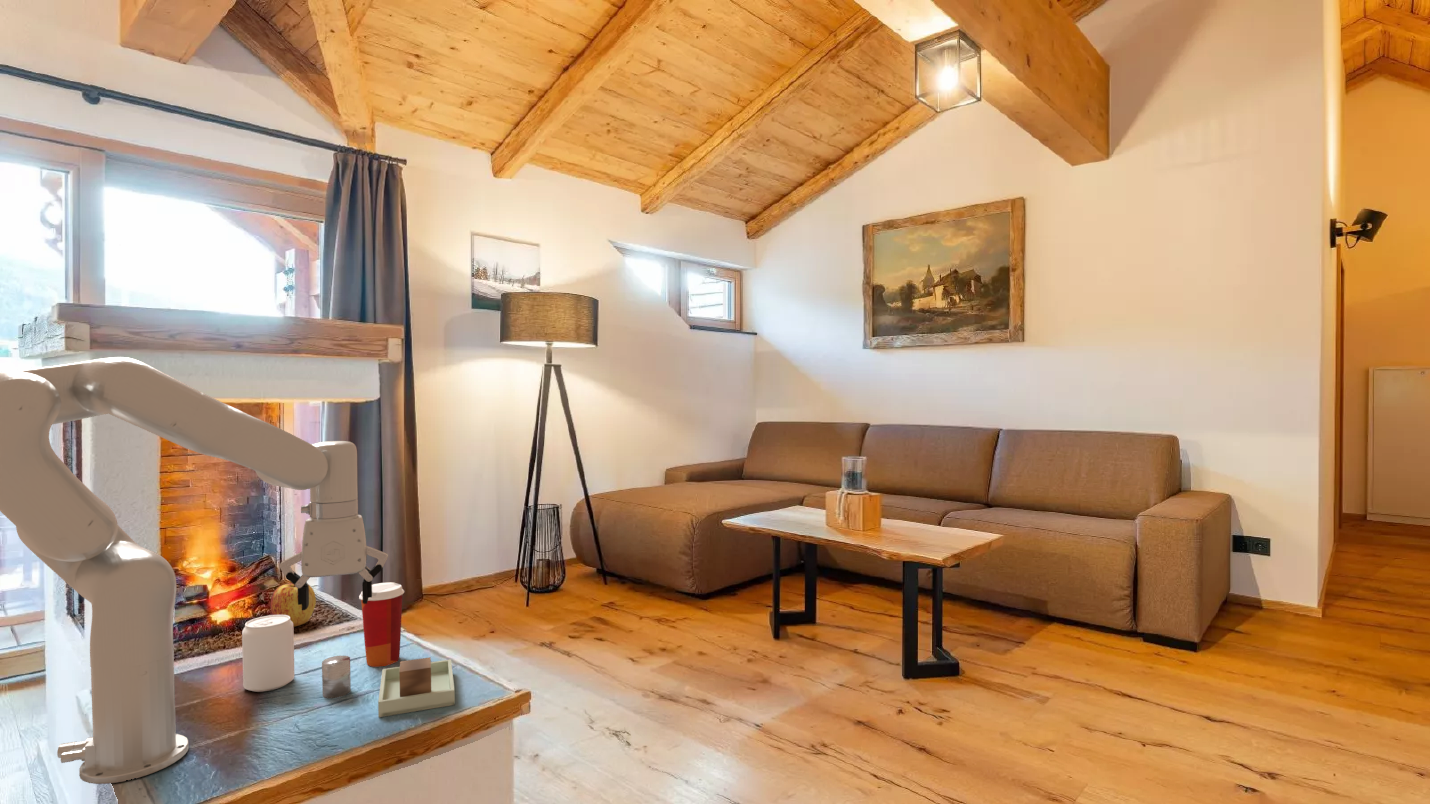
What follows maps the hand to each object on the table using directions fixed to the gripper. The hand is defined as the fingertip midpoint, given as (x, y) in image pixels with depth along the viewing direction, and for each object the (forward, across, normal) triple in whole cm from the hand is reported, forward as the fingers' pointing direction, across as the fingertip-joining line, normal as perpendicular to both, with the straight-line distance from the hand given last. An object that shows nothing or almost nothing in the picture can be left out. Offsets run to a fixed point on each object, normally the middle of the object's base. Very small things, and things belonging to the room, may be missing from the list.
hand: (335, 604), depth 129 cm
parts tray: (+16, +13, -6) cm, 22 cm away
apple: (+16, -14, +45) cm, 50 cm away
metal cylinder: (+16, 0, 0) cm, 16 cm away
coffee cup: (+16, +7, +13) cm, 22 cm away
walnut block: (+16, +13, -9) cm, 22 cm away
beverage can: (+16, -12, +9) cm, 22 cm away
